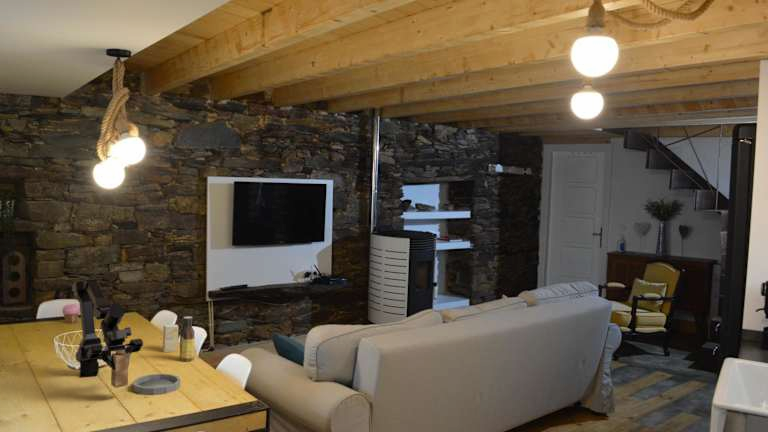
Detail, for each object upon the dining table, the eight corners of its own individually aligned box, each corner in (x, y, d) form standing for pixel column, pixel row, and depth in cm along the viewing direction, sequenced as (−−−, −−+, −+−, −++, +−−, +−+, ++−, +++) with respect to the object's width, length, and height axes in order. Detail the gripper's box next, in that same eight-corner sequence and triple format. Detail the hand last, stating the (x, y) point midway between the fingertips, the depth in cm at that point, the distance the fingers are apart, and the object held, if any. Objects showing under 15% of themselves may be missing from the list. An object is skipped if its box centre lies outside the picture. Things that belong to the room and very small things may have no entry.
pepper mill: (115, 387, 217) (116, 352, 216) (111, 384, 220) (111, 350, 219) (127, 385, 220) (128, 350, 219) (123, 382, 223) (124, 348, 222)
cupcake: (74, 324, 322) (74, 306, 321) (58, 323, 322) (59, 305, 321) (83, 320, 331) (83, 303, 330) (67, 320, 331) (68, 302, 330)
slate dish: (135, 396, 222) (135, 390, 222) (131, 382, 238) (132, 376, 237) (182, 391, 230) (182, 385, 230) (176, 377, 245) (176, 372, 245)
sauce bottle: (181, 357, 273) (182, 315, 271) (195, 358, 273) (196, 315, 272) (177, 362, 266) (178, 318, 265) (192, 362, 267) (193, 318, 265)
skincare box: (164, 352, 279) (164, 327, 278) (162, 350, 283) (163, 325, 282) (178, 351, 282) (178, 326, 281) (176, 348, 286) (176, 324, 285)
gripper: (90, 323, 215) (100, 361, 208) (142, 317, 228) (153, 352, 221) (82, 340, 221) (92, 377, 214) (133, 333, 234) (144, 368, 227)
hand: (121, 368), depth 219 cm, fingers closed on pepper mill, 4 cm apart
